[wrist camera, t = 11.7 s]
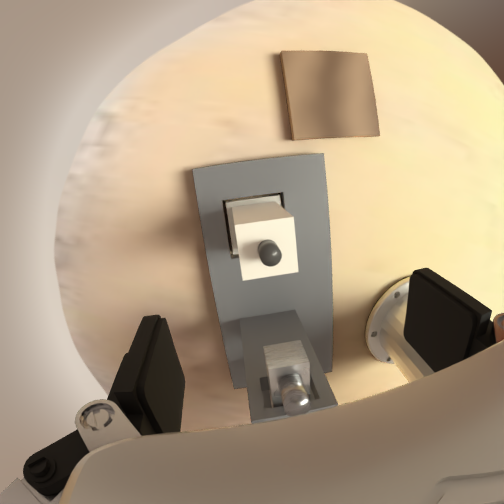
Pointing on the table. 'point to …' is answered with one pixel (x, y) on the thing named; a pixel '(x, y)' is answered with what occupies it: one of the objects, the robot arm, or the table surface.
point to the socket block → (274, 287)
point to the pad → (329, 94)
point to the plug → (262, 236)
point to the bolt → (288, 377)
